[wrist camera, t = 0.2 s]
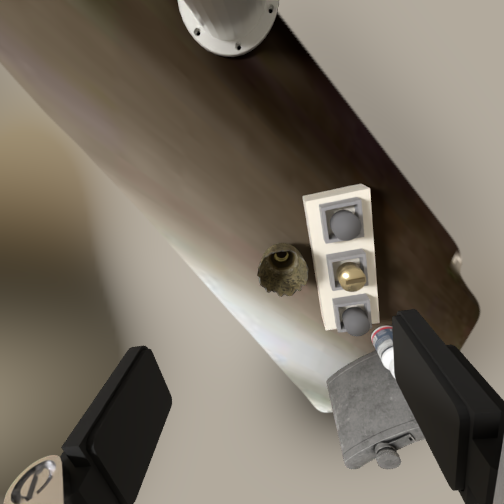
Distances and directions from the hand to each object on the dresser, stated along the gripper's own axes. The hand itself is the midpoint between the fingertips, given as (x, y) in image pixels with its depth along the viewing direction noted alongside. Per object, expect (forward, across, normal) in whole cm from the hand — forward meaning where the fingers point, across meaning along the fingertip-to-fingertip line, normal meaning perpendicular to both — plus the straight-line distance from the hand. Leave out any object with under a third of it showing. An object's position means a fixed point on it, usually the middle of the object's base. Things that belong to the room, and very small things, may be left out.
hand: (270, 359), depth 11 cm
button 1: (+30, -9, +21) cm, 38 cm away
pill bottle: (+37, -16, +31) cm, 50 cm away
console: (+36, -9, +13) cm, 39 cm away
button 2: (+30, -9, +5) cm, 32 cm away
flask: (+37, -10, +38) cm, 54 cm away
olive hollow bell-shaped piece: (+36, 0, +10) cm, 38 cm away
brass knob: (+30, -9, +13) cm, 34 cm away
